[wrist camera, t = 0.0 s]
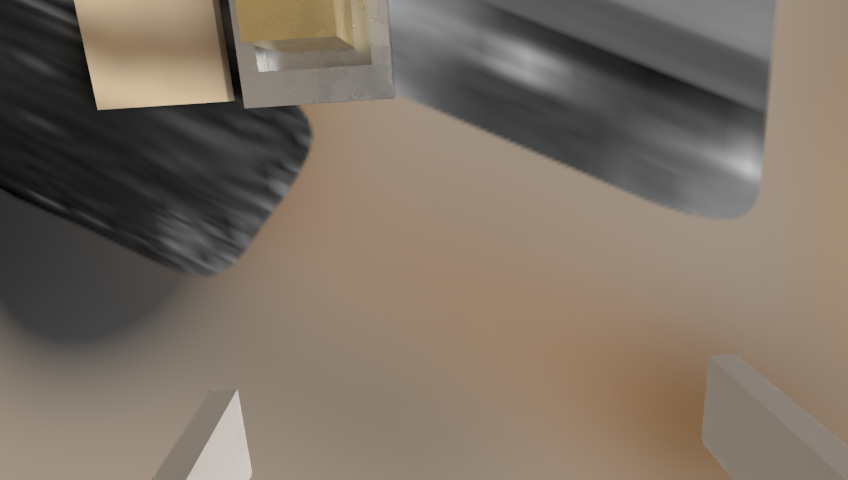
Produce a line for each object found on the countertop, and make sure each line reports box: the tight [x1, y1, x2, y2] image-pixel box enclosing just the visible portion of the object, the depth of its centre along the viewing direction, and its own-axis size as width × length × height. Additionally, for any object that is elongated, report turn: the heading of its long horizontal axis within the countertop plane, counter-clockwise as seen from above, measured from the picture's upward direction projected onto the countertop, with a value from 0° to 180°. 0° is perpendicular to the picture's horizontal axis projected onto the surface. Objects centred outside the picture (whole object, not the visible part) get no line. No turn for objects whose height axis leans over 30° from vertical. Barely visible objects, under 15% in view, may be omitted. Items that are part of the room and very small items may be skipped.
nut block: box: [235, 0, 355, 53], centre depth 33 cm, size 5×5×10 cm
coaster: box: [74, 0, 234, 110], centre depth 38 cm, size 9×9×2 cm
